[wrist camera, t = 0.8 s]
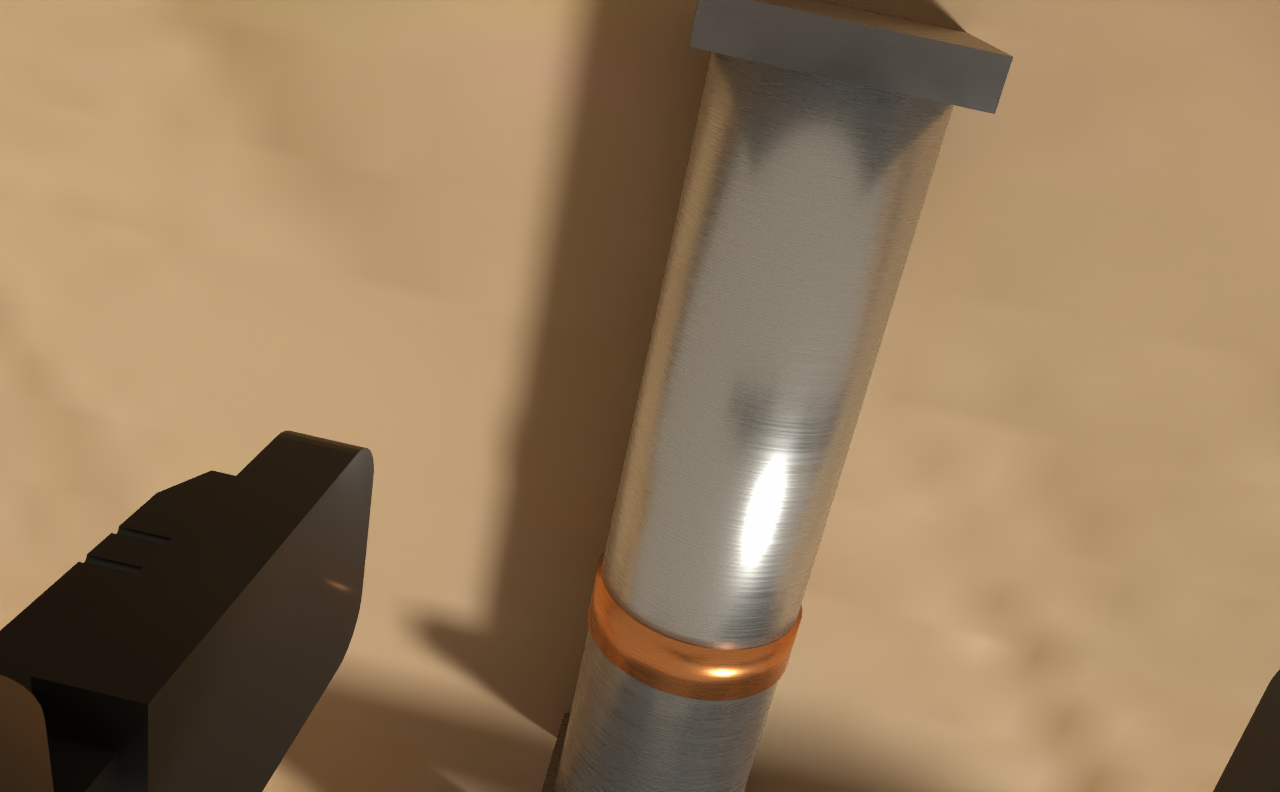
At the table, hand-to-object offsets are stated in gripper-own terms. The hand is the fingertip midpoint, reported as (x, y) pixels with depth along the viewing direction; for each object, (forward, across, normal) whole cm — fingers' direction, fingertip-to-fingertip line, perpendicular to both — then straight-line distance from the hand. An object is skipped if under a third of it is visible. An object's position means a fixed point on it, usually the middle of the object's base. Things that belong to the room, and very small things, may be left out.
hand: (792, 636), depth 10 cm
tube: (+18, 0, +7) cm, 19 cm away
